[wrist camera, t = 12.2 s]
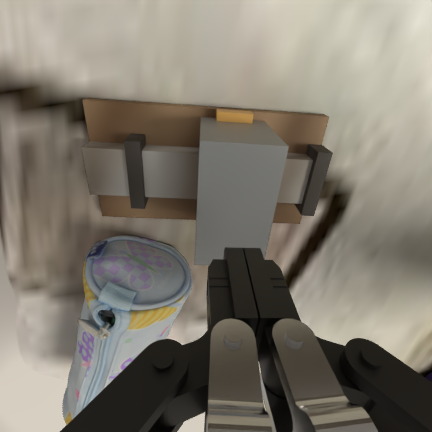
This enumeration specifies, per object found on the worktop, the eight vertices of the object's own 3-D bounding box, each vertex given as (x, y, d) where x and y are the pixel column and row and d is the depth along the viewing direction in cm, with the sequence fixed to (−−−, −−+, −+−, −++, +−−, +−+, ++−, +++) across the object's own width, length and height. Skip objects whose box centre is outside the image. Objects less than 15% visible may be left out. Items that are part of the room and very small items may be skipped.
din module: (265, 112, 18) (291, 134, 13) (248, 217, 23) (262, 266, 17) (201, 107, 18) (200, 128, 13) (196, 215, 23) (194, 264, 17)
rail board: (323, 114, 20) (341, 122, 17) (296, 217, 24) (307, 236, 22) (88, 98, 18) (69, 104, 16) (106, 210, 23) (93, 229, 20)
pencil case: (105, 215, 24) (53, 298, 15) (198, 240, 25) (196, 326, 17) (82, 351, 33) (42, 445, 25) (150, 362, 35) (134, 453, 27)
